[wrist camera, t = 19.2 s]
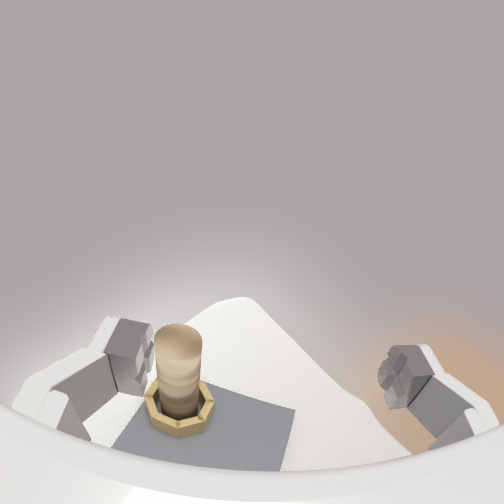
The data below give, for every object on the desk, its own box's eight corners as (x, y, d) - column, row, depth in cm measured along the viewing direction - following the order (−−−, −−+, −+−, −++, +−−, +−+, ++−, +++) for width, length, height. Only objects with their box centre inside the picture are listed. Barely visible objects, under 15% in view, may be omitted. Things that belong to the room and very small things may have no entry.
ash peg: (194, 429, 33) (196, 362, 27) (157, 420, 33) (147, 350, 27) (200, 400, 37) (206, 329, 31) (166, 392, 37) (162, 320, 31)
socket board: (264, 514, 23) (271, 508, 22) (111, 452, 27) (103, 440, 25) (293, 413, 38) (300, 398, 37) (168, 371, 42) (167, 354, 40)
